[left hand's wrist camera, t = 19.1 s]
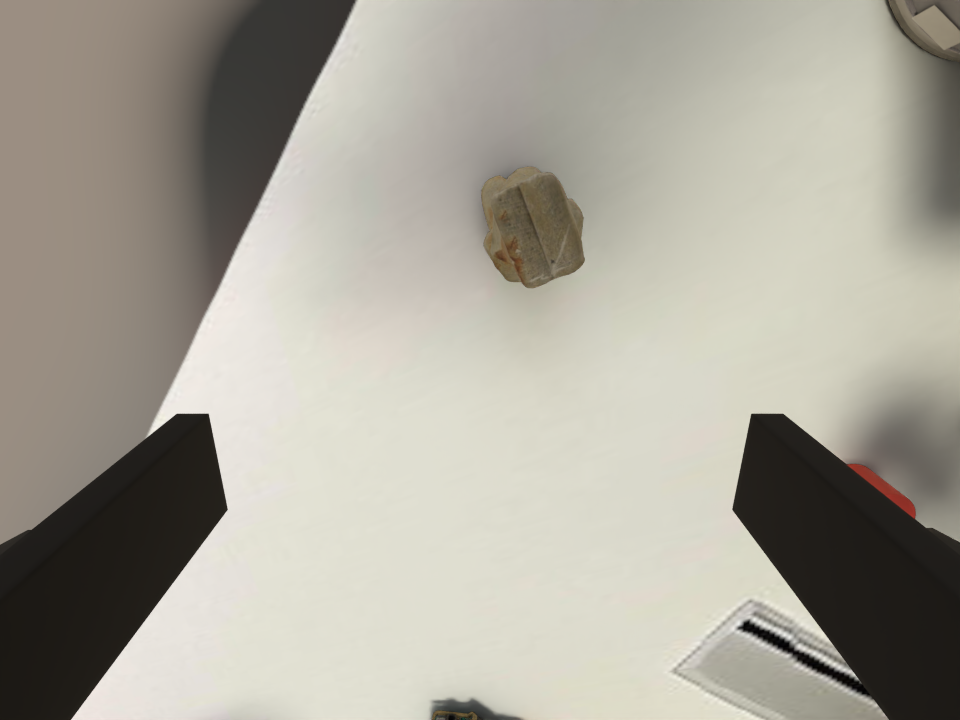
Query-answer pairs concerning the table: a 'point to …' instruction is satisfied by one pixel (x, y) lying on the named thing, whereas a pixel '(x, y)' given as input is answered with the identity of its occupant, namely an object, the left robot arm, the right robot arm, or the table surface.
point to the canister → (885, 488)
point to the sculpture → (532, 227)
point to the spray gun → (454, 715)
